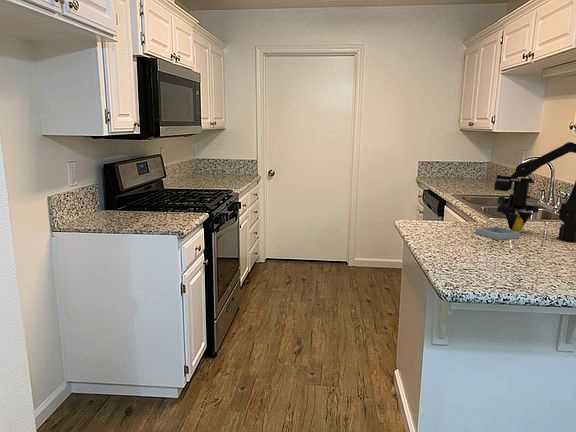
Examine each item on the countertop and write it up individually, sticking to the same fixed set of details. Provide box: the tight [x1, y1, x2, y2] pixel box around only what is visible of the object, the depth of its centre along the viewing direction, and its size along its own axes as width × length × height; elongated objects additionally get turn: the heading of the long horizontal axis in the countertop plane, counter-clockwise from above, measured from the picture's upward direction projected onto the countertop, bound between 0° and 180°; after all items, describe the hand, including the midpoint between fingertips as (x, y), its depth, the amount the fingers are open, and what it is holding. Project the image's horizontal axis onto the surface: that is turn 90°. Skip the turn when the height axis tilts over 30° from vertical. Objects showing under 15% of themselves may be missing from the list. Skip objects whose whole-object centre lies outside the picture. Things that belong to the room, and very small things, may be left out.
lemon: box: [509, 214, 524, 233], centre depth 194 cm, size 6×6×8 cm
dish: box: [474, 226, 521, 241], centre depth 187 cm, size 12×12×2 cm
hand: (515, 228), depth 194 cm, fingers closed on lemon, 5 cm apart
